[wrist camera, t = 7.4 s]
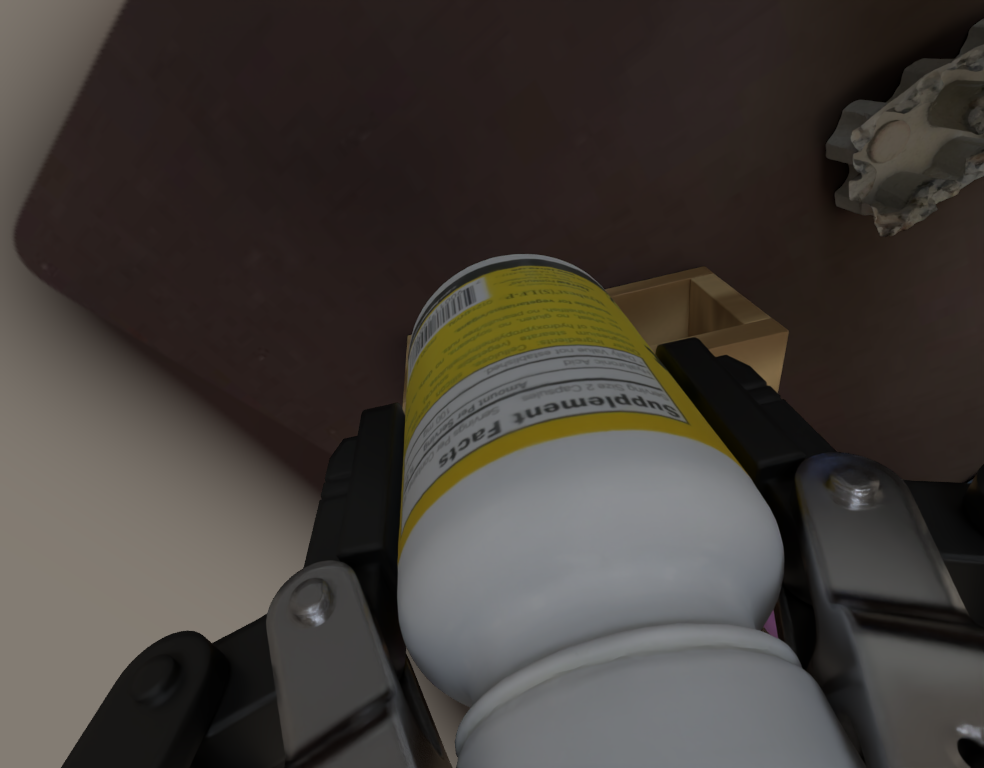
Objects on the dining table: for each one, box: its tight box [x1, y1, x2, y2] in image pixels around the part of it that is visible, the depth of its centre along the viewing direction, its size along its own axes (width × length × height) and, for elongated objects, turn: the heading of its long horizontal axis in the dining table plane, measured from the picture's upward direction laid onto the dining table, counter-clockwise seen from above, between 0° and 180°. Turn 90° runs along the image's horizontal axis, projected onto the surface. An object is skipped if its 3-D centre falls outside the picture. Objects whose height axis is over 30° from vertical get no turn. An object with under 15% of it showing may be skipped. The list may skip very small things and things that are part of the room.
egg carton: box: [826, 19, 984, 237], centre depth 26 cm, size 11×8×4 cm
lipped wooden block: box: [402, 266, 789, 414], centre depth 30 cm, size 12×20×12 cm, turn 101°
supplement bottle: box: [397, 254, 866, 768], centre depth 8 cm, size 5×5×10 cm
